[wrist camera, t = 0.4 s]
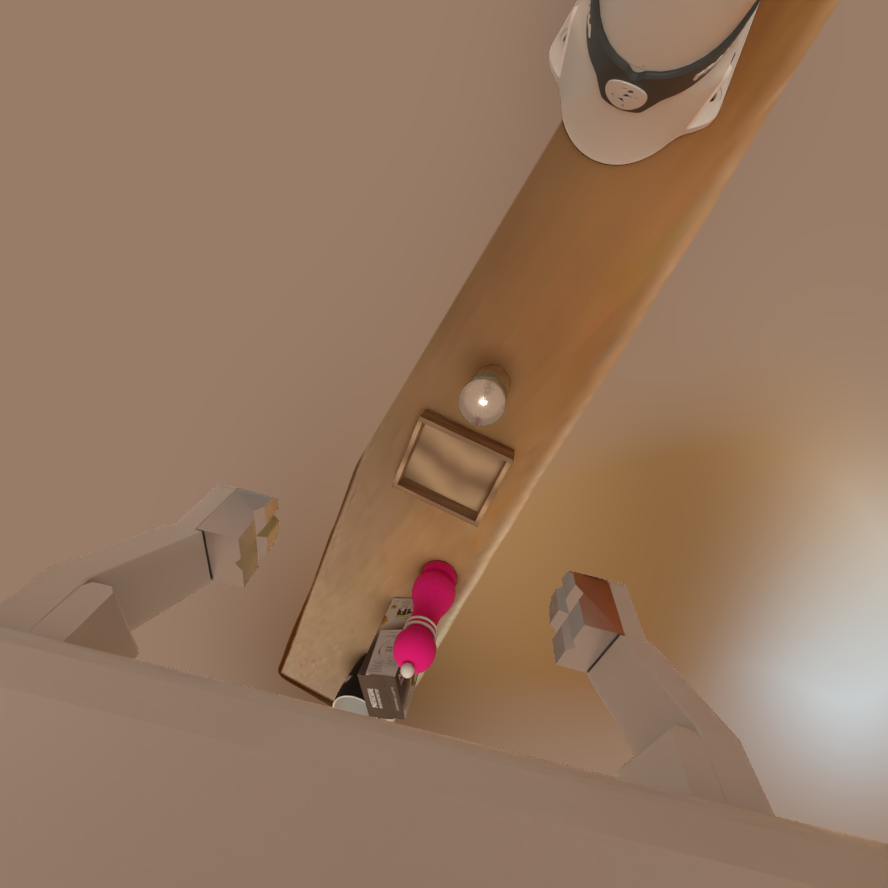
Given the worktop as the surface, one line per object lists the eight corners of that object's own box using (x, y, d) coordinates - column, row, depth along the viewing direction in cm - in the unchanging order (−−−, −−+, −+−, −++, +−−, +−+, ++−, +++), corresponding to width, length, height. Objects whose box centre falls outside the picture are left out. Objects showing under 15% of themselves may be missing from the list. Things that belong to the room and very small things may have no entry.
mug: (361, 642, 76) (337, 688, 66) (401, 660, 75) (383, 709, 66) (348, 679, 80) (324, 727, 71) (386, 696, 80) (367, 747, 70)
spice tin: (483, 358, 52) (469, 371, 40) (516, 373, 52) (513, 391, 40) (468, 391, 54) (451, 413, 42) (500, 406, 54) (493, 433, 42)
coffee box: (391, 597, 70) (355, 673, 55) (423, 597, 68) (395, 676, 54) (400, 635, 73) (368, 717, 58) (431, 637, 71) (406, 721, 56)
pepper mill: (465, 587, 66) (441, 694, 47) (429, 594, 68) (392, 699, 50) (450, 554, 64) (419, 651, 46) (413, 562, 66) (370, 658, 48)
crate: (426, 409, 56) (419, 416, 53) (514, 450, 56) (513, 459, 52) (399, 475, 61) (391, 486, 57) (480, 514, 60) (477, 527, 57)
